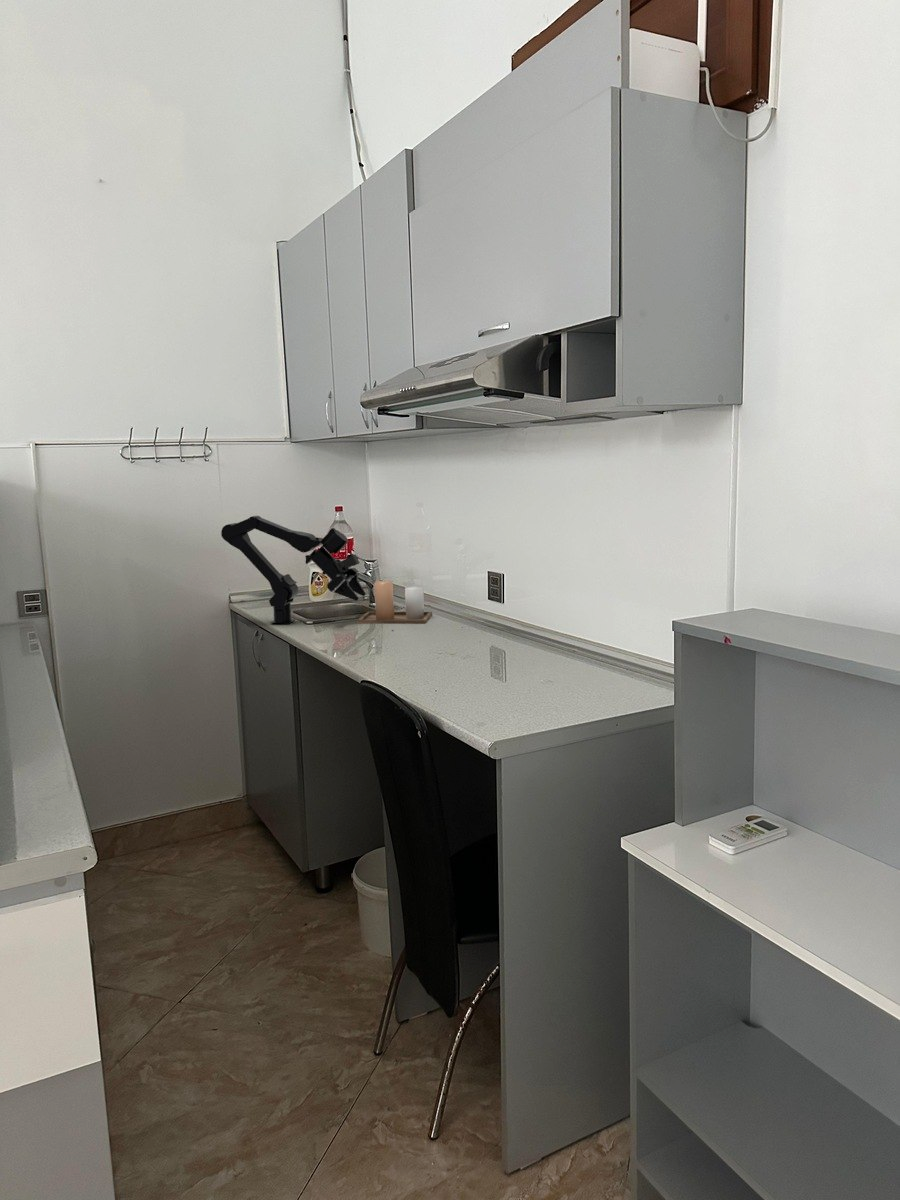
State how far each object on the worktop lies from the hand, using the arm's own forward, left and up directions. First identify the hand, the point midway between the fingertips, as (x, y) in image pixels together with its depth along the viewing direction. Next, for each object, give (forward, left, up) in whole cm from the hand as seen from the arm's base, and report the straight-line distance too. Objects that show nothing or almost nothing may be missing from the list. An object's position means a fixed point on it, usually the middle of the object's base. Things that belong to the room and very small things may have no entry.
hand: (361, 597), depth 285 cm
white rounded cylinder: (-5, +17, -7) cm, 19 cm away
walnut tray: (-2, +11, -8) cm, 14 cm away
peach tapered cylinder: (0, +8, -7) cm, 11 cm away
